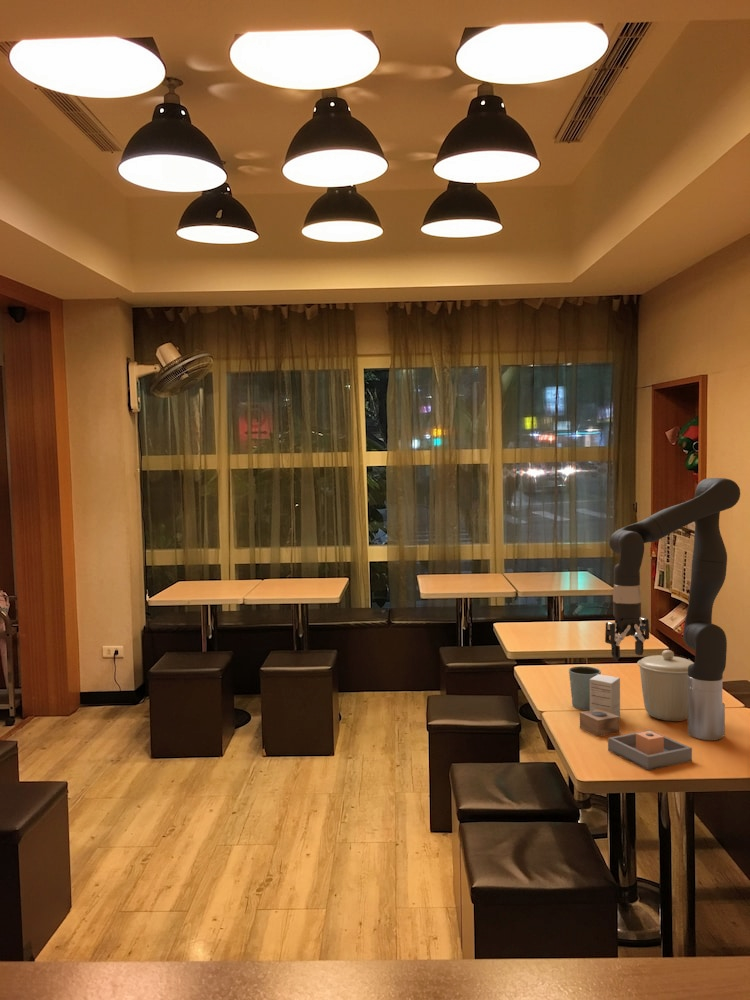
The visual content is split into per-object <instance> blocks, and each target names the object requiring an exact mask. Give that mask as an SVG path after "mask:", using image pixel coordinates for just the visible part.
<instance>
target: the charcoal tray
mask: <svg viewBox="0 0 750 1000" xmlns="http://www.w3.org/2000/svg"><path fill="white" fill-rule="evenodd" d="M646 731H652V732H654V733H656V734H659V735H661V736H663V737H664V752H661V753H657V754H652V755H647V754H645V753H643V752H641V751H639V750H637V749H636V733H641V732H646ZM607 738H608V739H607V749H608V752H611V753H613V754H615V755H617V756H619V757H621V758H622V759H625V760H627V761H628V762H631V763H633V764H634V765H637V766H638V767H639V768H643V769H645V770H646V771H648V772H649V771H653V770H657V769H662V768H665V767H666V768H667V767H670V766H676V765H681V764H685V763H690V762H692V761H693V748H692V747H690V746H688V745H686V744H684V743H681V742H679V741H677V740H675V739H671V738H669V737H667V736H665V735H663V734H661V733H658V732H656V731H653V730H651V729H647V730H641V731H638V732H637V731H636V732H632V733H628V734H622V735H620V734H619V735H615V736H610V737H607Z"/></svg>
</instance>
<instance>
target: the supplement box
mask: <svg viewBox="0 0 750 1000" xmlns="http://www.w3.org/2000/svg"><path fill="white" fill-rule="evenodd" d="M596 709H603V710H605V711H607V712H610V713H612V714H614V715H617V716H619V718H621V679H620V677H617V676H612V675H605V674H601V675H600V674H598V675H596V676H594V677H593V678H591V679H590V710H596ZM590 710H589V711H590Z"/></svg>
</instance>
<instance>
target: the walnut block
mask: <svg viewBox="0 0 750 1000" xmlns="http://www.w3.org/2000/svg"><path fill="white" fill-rule="evenodd" d="M579 729H582V730H583V731H585V732H588V733H589V734H591V735H594V736H596V737H603V736H608V735H609V736H610V735H613V734H614V733H615V734H619V733H620V717H619V716H617V715H614V714H612V713H610V712H607V711H605V710H603V709H596V710H584V711H580V712H579Z"/></svg>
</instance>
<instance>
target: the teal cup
mask: <svg viewBox="0 0 750 1000" xmlns="http://www.w3.org/2000/svg"><path fill="white" fill-rule="evenodd" d="M598 674H600V675H602V671H601V670H600V669H599V668H596V667H592V666H584V665H583V666H581V665H580V666H573V667H570V668H569V670H568V675H569V681H570V682H569V683H570V693H571V704H572V707H574V708H575V709H577V710H578V709H579V710H584V711H590V679H591V678H593V677H594V676H596V675H598Z"/></svg>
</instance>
